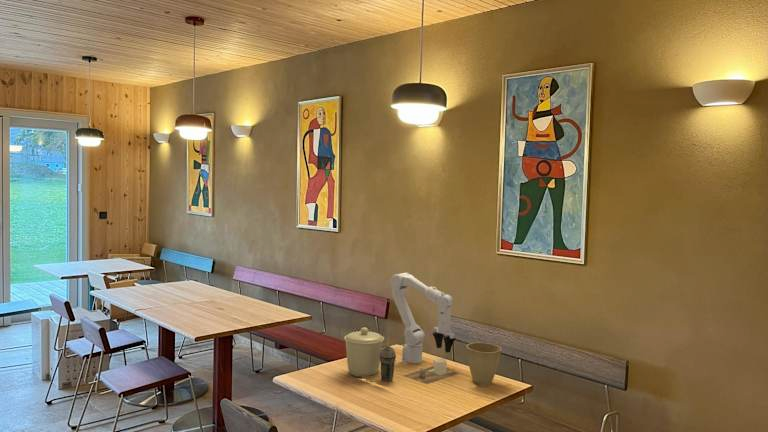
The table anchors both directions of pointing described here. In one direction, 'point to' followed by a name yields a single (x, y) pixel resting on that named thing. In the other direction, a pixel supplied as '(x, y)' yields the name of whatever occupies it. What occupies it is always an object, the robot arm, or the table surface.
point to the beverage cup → (387, 362)
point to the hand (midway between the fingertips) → (443, 349)
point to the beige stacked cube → (440, 365)
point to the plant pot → (483, 362)
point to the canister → (363, 352)
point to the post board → (429, 375)
